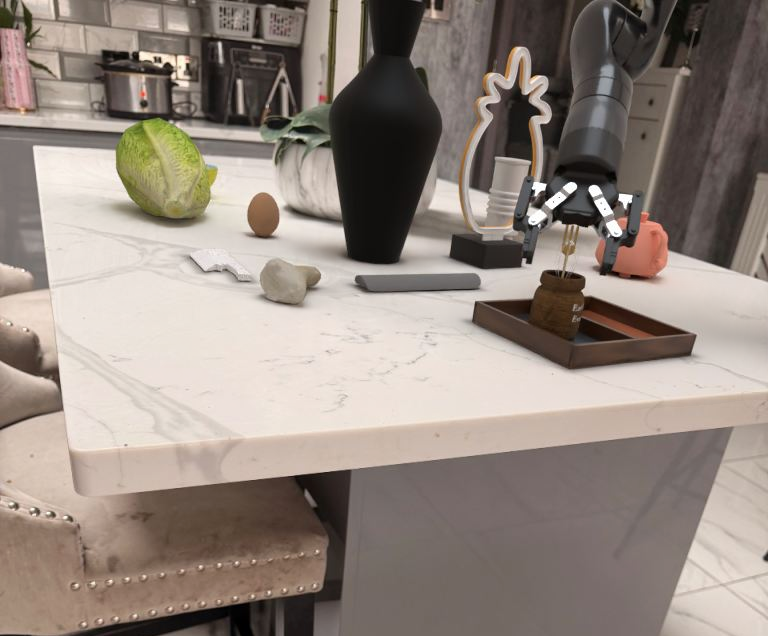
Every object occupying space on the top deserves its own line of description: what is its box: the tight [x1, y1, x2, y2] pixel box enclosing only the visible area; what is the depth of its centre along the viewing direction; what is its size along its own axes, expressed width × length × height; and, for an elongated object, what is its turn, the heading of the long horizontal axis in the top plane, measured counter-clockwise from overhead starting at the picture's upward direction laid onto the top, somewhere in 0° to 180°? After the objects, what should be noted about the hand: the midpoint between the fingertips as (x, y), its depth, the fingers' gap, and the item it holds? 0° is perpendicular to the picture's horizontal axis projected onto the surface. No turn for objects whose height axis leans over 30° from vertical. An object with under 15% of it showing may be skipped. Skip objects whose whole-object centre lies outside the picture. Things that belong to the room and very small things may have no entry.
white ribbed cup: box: [483, 156, 532, 241], centre depth 145 cm, size 7×7×15 cm
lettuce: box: [115, 117, 212, 219], centre depth 134 cm, size 15×25×16 cm
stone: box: [259, 257, 322, 305], centre depth 97 cm, size 11×6×5 cm, turn 173°
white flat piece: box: [188, 247, 252, 281], centre depth 106 cm, size 5×15×1 cm, turn 24°
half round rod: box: [354, 272, 482, 292], centre depth 109 cm, size 4×20×2 cm, turn 119°
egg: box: [246, 191, 281, 237], centre depth 128 cm, size 5×5×7 cm
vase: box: [327, 0, 443, 265], centre depth 115 cm, size 17×17×35 cm
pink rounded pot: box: [594, 211, 669, 279], centre depth 132 cm, size 12×14×10 cm
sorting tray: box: [471, 294, 698, 370], centre depth 93 cm, size 20×18×3 cm
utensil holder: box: [528, 224, 587, 340], centre depth 88 cm, size 6×6×12 cm
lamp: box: [449, 46, 553, 270], centre depth 123 cm, size 17×9×32 cm, turn 125°
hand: (566, 265), depth 86 cm, fingers open, 8 cm apart
